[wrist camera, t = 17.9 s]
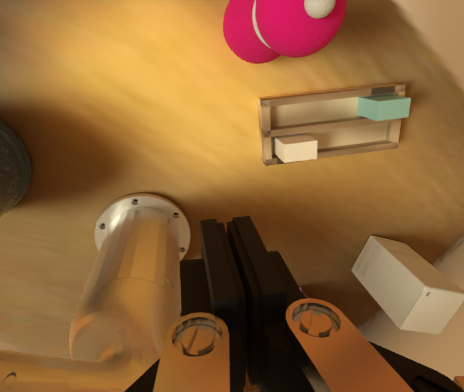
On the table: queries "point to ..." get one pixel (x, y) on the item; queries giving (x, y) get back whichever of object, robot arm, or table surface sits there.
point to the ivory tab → (295, 147)
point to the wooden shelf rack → (327, 121)
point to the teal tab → (383, 107)
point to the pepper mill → (280, 27)
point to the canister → (12, 168)
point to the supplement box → (407, 286)
